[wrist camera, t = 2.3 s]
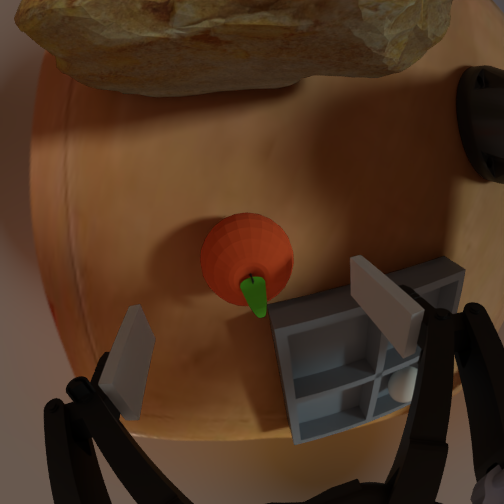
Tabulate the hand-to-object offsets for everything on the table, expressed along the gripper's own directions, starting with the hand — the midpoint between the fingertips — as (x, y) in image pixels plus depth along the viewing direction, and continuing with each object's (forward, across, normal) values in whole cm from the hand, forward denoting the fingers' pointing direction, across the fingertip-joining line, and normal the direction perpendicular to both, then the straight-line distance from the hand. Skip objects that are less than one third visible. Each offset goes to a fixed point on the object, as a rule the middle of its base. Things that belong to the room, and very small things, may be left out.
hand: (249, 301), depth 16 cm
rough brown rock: (+9, -4, -21) cm, 23 cm away
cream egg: (+7, -18, +22) cm, 29 cm away
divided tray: (+8, -13, +17) cm, 23 cm away
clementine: (+9, -1, 0) cm, 9 cm away
